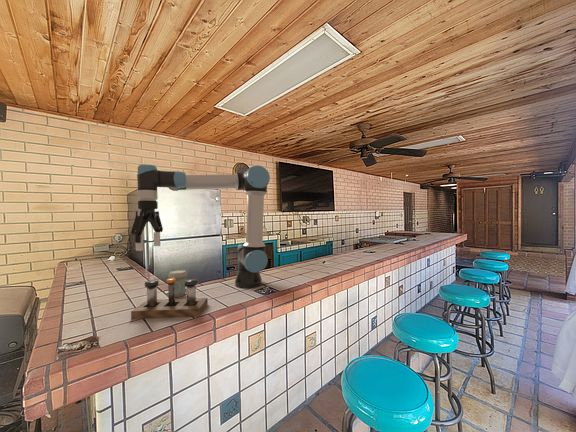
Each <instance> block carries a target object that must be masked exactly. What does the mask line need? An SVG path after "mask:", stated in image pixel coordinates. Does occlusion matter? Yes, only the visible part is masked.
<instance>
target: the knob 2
mask: <svg viewBox="0 0 576 432" xmlns="http://www.w3.org/2000/svg"><path fill="white" fill-rule="evenodd" d="M184 285H185V292H186V293H185V294H186V299H187V305H193V304H195V303H196V298H197V293H196V292H197V290H196V286H197V285H198V279H196V278H189V279H186V281H184Z"/></svg>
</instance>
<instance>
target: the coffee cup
mask: <svg viewBox="0 0 576 432" xmlns="http://www.w3.org/2000/svg"><path fill="white" fill-rule="evenodd" d="M187 276H188V272H187V271H186V270H185V269H177V270H171V271H169V273H168V279H171V278H175V279H176V283H175V297H178V298H181V297H184V296H185V294H186V293H185V292H186V286H185V285H184V281H186V280H187Z"/></svg>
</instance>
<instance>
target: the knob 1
mask: <svg viewBox="0 0 576 432" xmlns="http://www.w3.org/2000/svg"><path fill="white" fill-rule="evenodd" d="M159 285H160V283H159V280H157V279H152V280H147V281H145V282H144V288H146V301H147V306H155V305H157V300H158V291H157V290H158V288H157V286H159Z"/></svg>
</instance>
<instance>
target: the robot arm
mask: <svg viewBox="0 0 576 432" xmlns="http://www.w3.org/2000/svg"><path fill="white" fill-rule="evenodd" d="M136 176H137V177H136V178H137V179H136V180H137V182H136V183H137V199H138V201H137V209H138V210H136V211H135V218H134V221H133V225H132V228H131V231H130V232H131V235H132V236H134V238H135V239H134V240H135V241H134V242H135V243H134V244H135V251H136V252H142V251H144V235H143V232H144V230H145V227H146V226H147V223H149V224H150V226H151V227H152V229H153V231H154V232H153V247H161V233H162V232H164V231H163V230H164V227H163V224H162V221H161V218H160V217H161V216H160V212H159V210H157V209H158V207H159V205H158V204H159V203H158V201H157V200H158V188H168V189H169V190H170V191H173V192H175V191H176V192H177V191H186V190H217V189H219V190H220V189H221V190H223V189H224V190H225V189H235V190H236V191H242V190H243V191H244V194H245V195H246V226H245V227H246V228H245V229H246V231H245V232H246V233H245V242H244V244H238V246H237V250H236V251H237V273H236V276H235V279H234V285H235V287H238V288H244V289H250V288H255V287H260V285H262V283H263V282H262V281H263V279H262V277H261V274H260V272H262V271H263V270H264V269H265V268H266V267H267V265H268V263H269V262H268V261H269V259H268V256H267V254H266V244H265V243H264V242H263V241H264V239H263V238H264V203H265V201H264V200H265V195H267V193H268V185H269V183H270V180H271V176H270V172H269V170H267V169H266V167H264V166H262V165H259V164H258V165H252V166H251V167H249V168H248V169H247V170H245V171H241V172H235V173H233V174H186V172H185V171H179V170H176V171H174V170H159V169H158V167H157V166H156V165H153V164H146V163H145V164H143V163H142V164H139V165H137V174H136Z"/></svg>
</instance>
